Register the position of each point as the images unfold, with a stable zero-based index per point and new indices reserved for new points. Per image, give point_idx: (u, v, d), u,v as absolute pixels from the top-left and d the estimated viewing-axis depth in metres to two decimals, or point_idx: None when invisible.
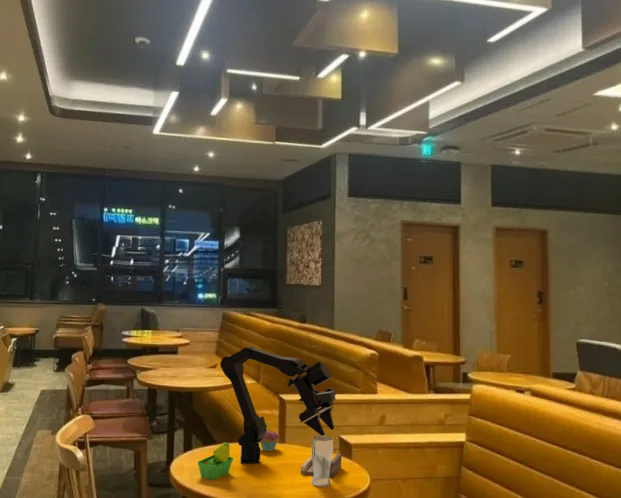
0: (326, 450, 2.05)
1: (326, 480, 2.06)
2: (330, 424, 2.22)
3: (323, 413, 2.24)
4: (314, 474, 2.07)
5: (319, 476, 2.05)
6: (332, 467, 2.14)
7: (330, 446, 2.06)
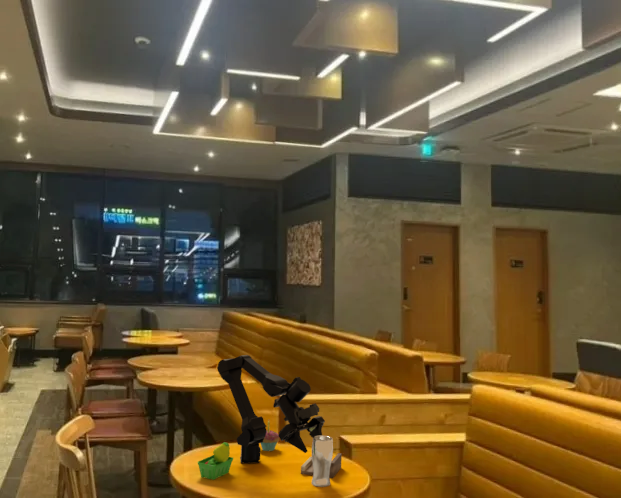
0: (326, 450, 2.05)
1: (326, 480, 2.06)
2: None
3: (313, 431, 2.17)
4: (314, 474, 2.07)
5: (319, 476, 2.05)
6: (332, 467, 2.14)
7: (330, 446, 2.06)
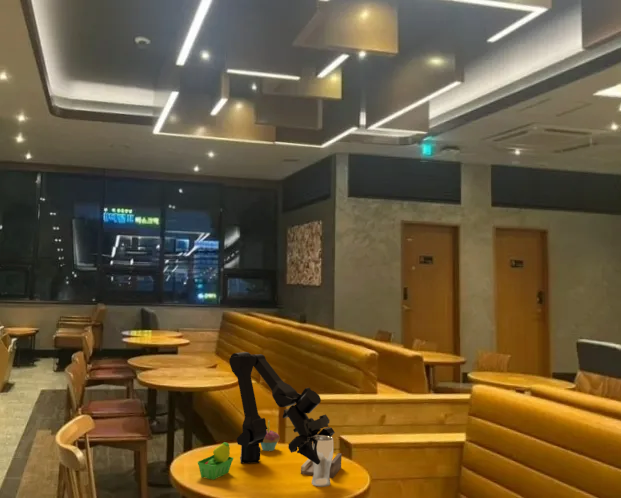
0: (326, 450, 2.05)
1: (326, 480, 2.06)
2: None
3: None
4: (314, 474, 2.07)
5: (319, 476, 2.05)
6: (332, 467, 2.14)
7: (330, 446, 2.06)
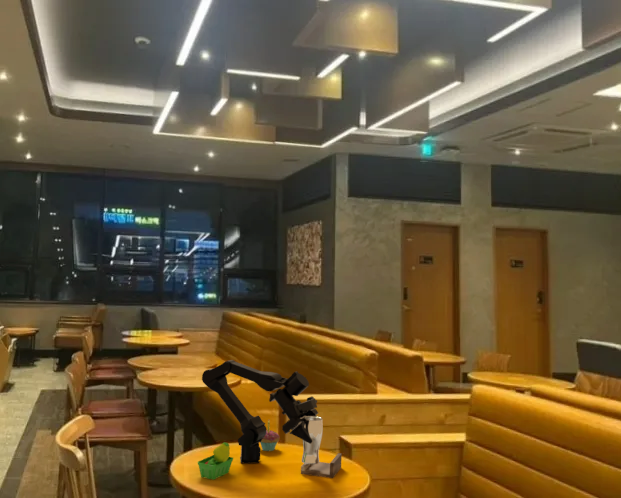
0: (318, 429, 2.16)
1: (317, 458, 2.17)
2: None
3: None
4: (305, 453, 2.17)
5: (311, 454, 2.16)
6: (332, 467, 2.14)
7: (321, 425, 2.18)
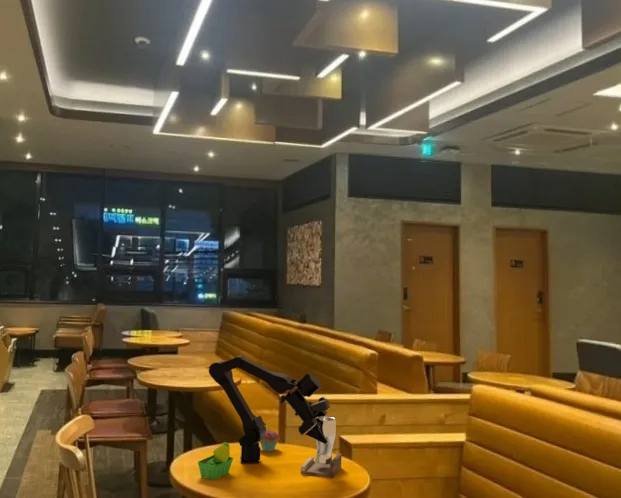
0: (333, 429, 2.19)
1: (331, 457, 2.20)
2: None
3: None
4: (319, 453, 2.19)
5: (325, 454, 2.19)
6: (332, 467, 2.14)
7: (335, 425, 2.20)
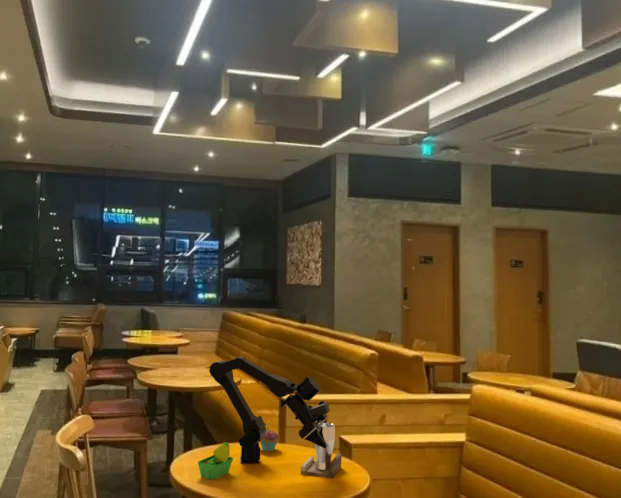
0: (332, 435, 2.19)
1: None
2: None
3: None
4: (319, 459, 2.19)
5: (325, 461, 2.18)
6: (332, 467, 2.14)
7: (334, 431, 2.20)
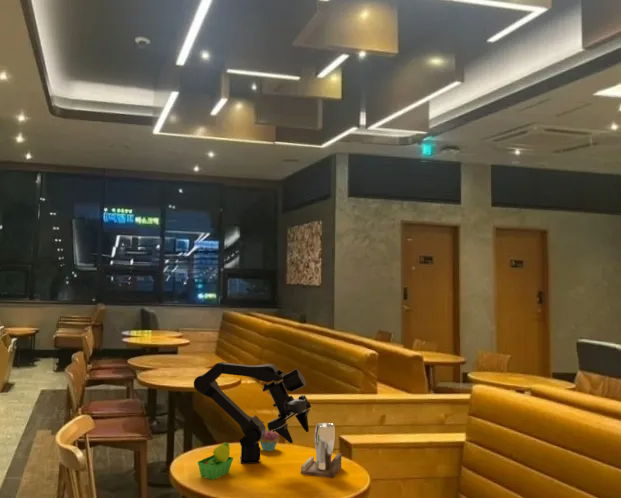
0: (331, 435, 2.19)
1: None
2: (305, 427, 2.29)
3: (300, 415, 2.30)
4: (319, 459, 2.19)
5: (325, 461, 2.18)
6: (332, 467, 2.14)
7: (334, 431, 2.20)
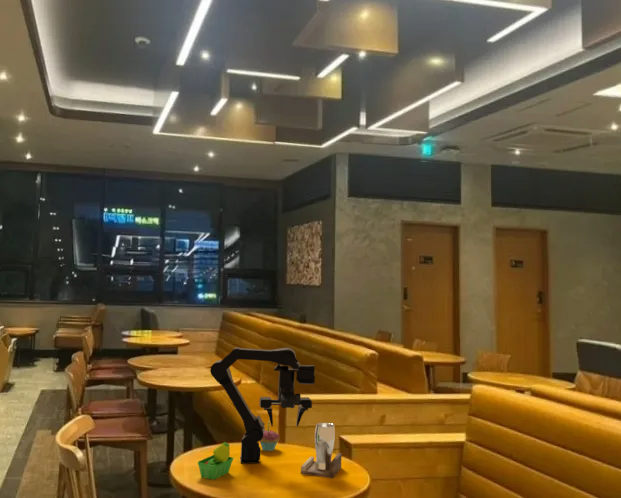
0: (332, 435, 2.19)
1: None
2: (297, 421, 2.29)
3: (298, 408, 2.30)
4: (319, 459, 2.19)
5: (325, 461, 2.18)
6: (332, 467, 2.14)
7: (334, 431, 2.20)
